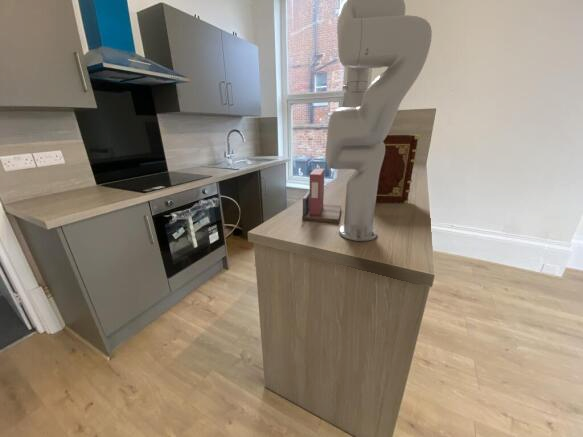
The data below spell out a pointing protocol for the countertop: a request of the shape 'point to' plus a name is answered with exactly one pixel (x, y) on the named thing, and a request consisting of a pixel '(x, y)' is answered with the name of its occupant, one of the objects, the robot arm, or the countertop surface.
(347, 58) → the robot arm
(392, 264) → the countertop surface
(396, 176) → the decorative book
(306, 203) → the bookend
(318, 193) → the slim book
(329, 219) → the shelf board
